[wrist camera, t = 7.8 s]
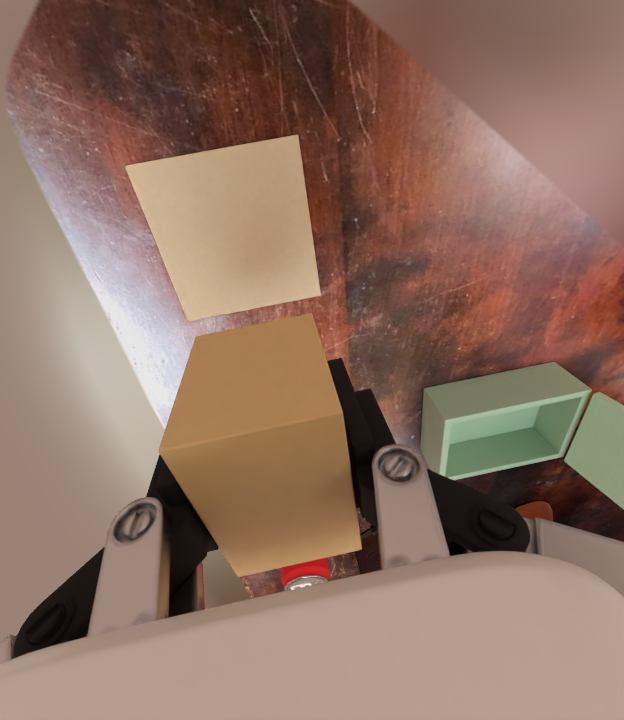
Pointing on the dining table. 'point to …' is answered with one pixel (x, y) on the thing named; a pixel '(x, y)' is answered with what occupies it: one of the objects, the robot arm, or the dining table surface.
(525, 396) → the lunchbox
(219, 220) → the placemat
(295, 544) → the tan wooden block
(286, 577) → the beverage can
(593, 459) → the lunchbox lid
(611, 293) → the dining table surface
